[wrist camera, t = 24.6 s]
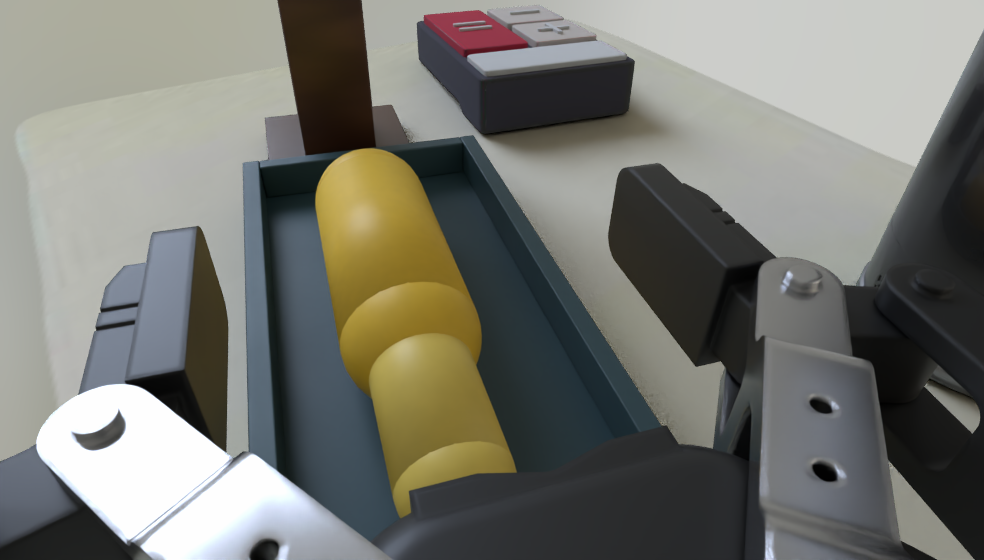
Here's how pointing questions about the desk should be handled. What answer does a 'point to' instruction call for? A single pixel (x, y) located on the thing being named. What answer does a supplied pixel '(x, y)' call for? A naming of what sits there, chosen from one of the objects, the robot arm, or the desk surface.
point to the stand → (329, 84)
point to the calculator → (524, 67)
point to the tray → (499, 304)
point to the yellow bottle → (406, 324)
